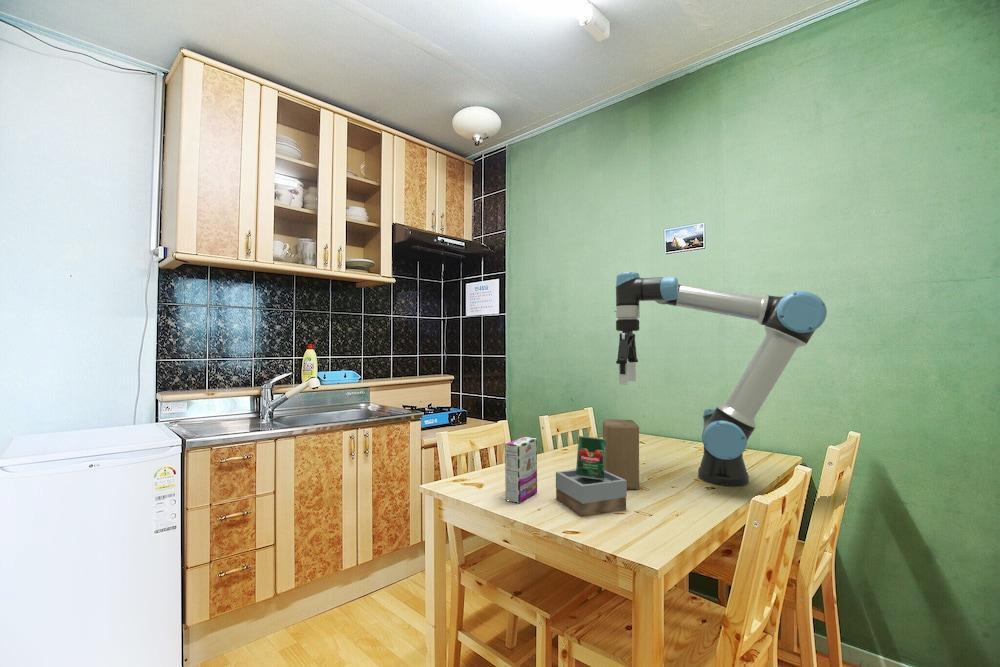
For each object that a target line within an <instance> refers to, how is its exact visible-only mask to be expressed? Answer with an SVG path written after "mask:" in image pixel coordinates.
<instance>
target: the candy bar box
mask: <svg viewBox="0 0 1000 667" xmlns="http://www.w3.org/2000/svg"><path fill="white" fill-rule="evenodd" d="M537 441H538V440H537V438H536V437H535V438H534V437H529V436H523V437H519V438H518V439H515V440H512V441H509V442H507V443H505V444H504V456H505V457H504V469H505V472H504V473H505V483H504V484H505V501H506V500H509V501H513V502H512V503H514V502H517V503H516V504H521V503H523V502H525V501H526V500H527V498H528V499H529V498H531V497H532V496H534V495H536V494H537V493H538V453H537V452H538V450H537V449H538V448H537V447H538V446H537V445H538V442H537ZM535 493H536V494H535ZM524 500H525V501H524ZM509 501H508V502H509ZM522 501H523V502H522Z"/></svg>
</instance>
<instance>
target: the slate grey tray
mask: <svg viewBox="0 0 1000 667" xmlns="http://www.w3.org/2000/svg"><path fill="white" fill-rule="evenodd" d="M556 488H557V489H559V490H560V491H562V492H564V493H565V494H567V495H569V496H570V497H572V498H574V499H575V500H577V501H579V502H580V503H582V504H584V503H591V502H597V501H604V500H611V499H617V498H624V497H626V498H627V497H628V496H627V495H628V493H627V491H628V489H627V480H625V479H623V478H620V477H618V476H616V475H613V474H611V473H609V472H607V471H604V480H598V479H590V478H583V477H578V476H576V469H571V470H569V469H568V470H561V471H555V489H556Z"/></svg>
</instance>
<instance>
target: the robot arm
mask: <svg viewBox="0 0 1000 667" xmlns="http://www.w3.org/2000/svg"><path fill="white" fill-rule="evenodd" d="M615 281H616V283H615V309H614V313H615V316H616V317H615V318H617V319H616V321H615V330H616V331H617V332H619V334H618V335H619V342H618V351H617V359H616V361H615V364H616V365H618V385H623V386H624V385H627V386H628V384H629V382H636V380H637V379H636V377H637V374H636V373H637V368H636V367H637V366H636V365H637V363H638V362H639V359H638V357H637V356H638V355H637V347H636V334H635V333H633V332H638V331H639V330H640V320H639V319H640V317H641V316H640V314H641V313H640V302H641V301H642V302H646V301H648V302H651V301H654V302H656V303H657V304H660V305H669V306H675V307H681V308H686V309H690V310H691V309H692V310H697V311H702V312H708V313H714V314H719V315H725V316H729V317H734V318H735V317H736V318H741V319H746V320H752V321H756V322H757V323H758V324H759V325H762V326H764V330H765V333H766V334H765V336H764V338H763V339H762V341H761V343H760V345H759V346H758V348H757V350H756V351H755V353H754V354H753V356H752V358H751V360H750V362H749V364H748V365H747V367H746V368H745V370H744V372H743V373H742V375H741V376H740V379H739V380H738V381H737V383H736V385H735V387H734V389H733V390H732V392H731V393H730V395H729V396H728V399H727V401H726V402H725V403H724V404H720V405H717V406H716V408H713V409H712V408H706V409H704V411H703V416H702V419H703V430H702V433H701V440H702V441H701V442H702V443H703V455H702V458H701V461H700V466H699V467H698V469H697V471H698V472H697V477H698V478H699V479H700V480H702V481H704V482H707V483H711V484H716V485H722V486H730V487H732V486H733V487H738V486H739V487H740V486H746V485H748V484H749V482H750V475H749V473H748V471H747V467H746V464H745V461H744V457H743V455H744V454H743V453H744V452H745V450H746V449H747V445H748V444H747V443H748V441H749V439H750V437H751V436H752V434H753V432H754V431H755V429H756V427H757V425H756V422H755V418H756V416H757V414H758V412H760V409H761V408H762V406H763V405H764V404H765V402H766V399H767V398H768V396H769V395H770V393H771V391H772V390H773V388H774V386H775V385H776V383H777V382H778V380H779V378H780V377H781V375H782V374H783V372H784V371H785V368H786V367H787V366H788V364H789V362H790V361H791V359H792V357H793V356H794V354H795V353H796V351H797V349H798V348H801V347H805V346H807V344H808V343H809V341H810V339H811V338H812V337H813V335H814V333H815V332H816V330H818V329H819V328H820V327H822V326H823V324H824V323H825V321H826V318H827V314H828V313H827V312H828V310H827V306H826V303H825V301H824V300H823V299H822V298H821V297H820V296H818V295H817V294H815V293H812V292H810V291H804V290H800V291H799V290H797V291H791V292H789V293H787V294H786V295H783V296H776V295H768V294H767V295H766V296H763V297H760V296H754V295H748V294H742V293H741V294H740V293H736V292H730V291H729V292H728V291H722V290H717V289H710V288H706V287H705V288H704V287H697V286H692V285H686V284H679V280H678V277H677V276H666V275H665V276H659V277H658V276H657V277H640V273H639V272H636V271H625V272H619V273H618V274H617V275H616V280H615Z"/></svg>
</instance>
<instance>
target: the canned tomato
mask: <svg viewBox="0 0 1000 667" xmlns="http://www.w3.org/2000/svg"><path fill="white" fill-rule="evenodd" d="M606 441H607V440H606V439H603V438H599V437H594V436H593V437H592V436H583V435H578V442H577V454H576V455H577V456H576V468H575V470H576V476H578V477H583V478H590V479H598V480H604V470H605V453H606Z"/></svg>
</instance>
